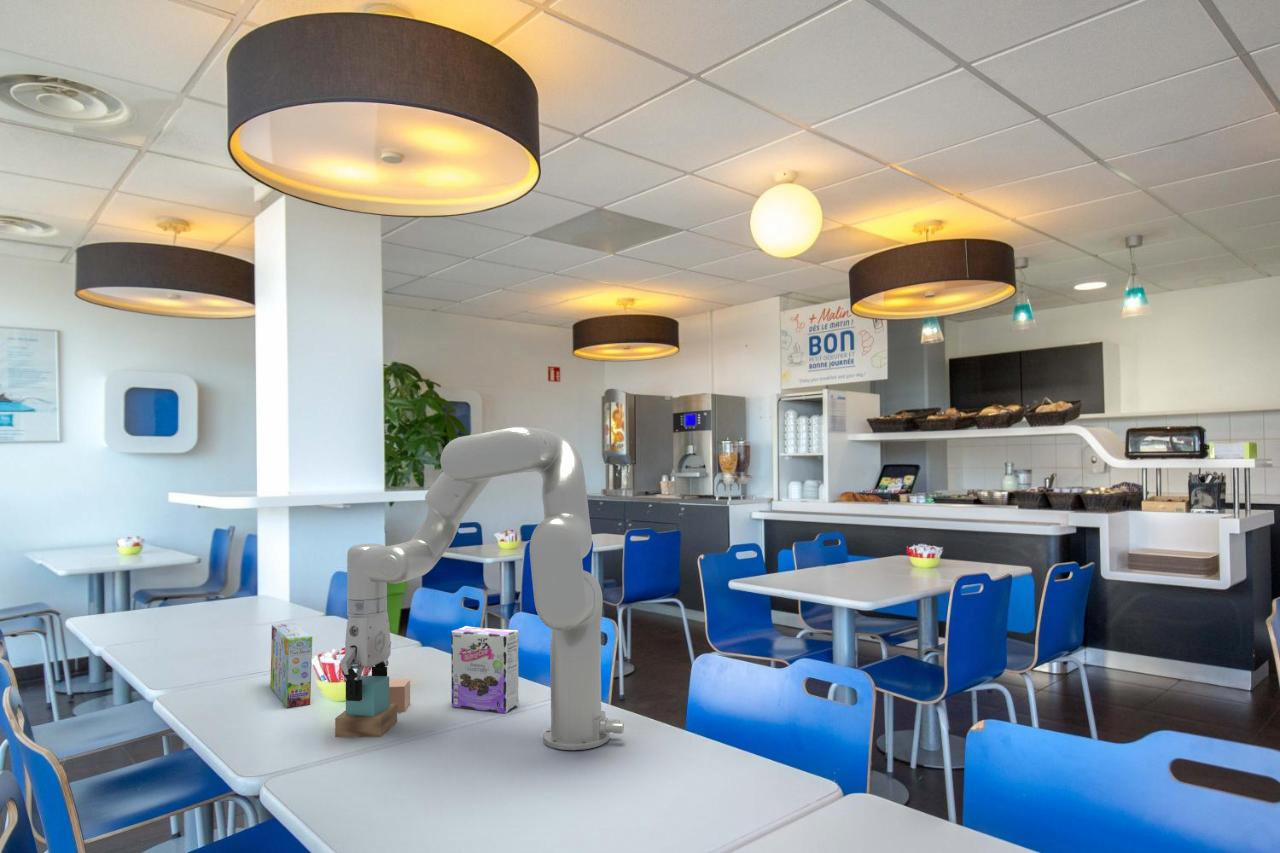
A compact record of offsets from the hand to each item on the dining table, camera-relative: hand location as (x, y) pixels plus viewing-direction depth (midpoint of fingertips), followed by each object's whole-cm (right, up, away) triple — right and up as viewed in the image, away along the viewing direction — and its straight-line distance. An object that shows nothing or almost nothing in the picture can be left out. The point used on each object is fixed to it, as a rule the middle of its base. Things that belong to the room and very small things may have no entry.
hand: (367, 693), depth 158 cm
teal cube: (0, -3, 0) cm, 3 cm away
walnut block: (0, -7, 0) cm, 7 cm away
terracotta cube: (+2, -8, +13) cm, 15 cm away
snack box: (-26, -9, +24) cm, 36 cm away
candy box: (+21, -7, +13) cm, 26 cm away
